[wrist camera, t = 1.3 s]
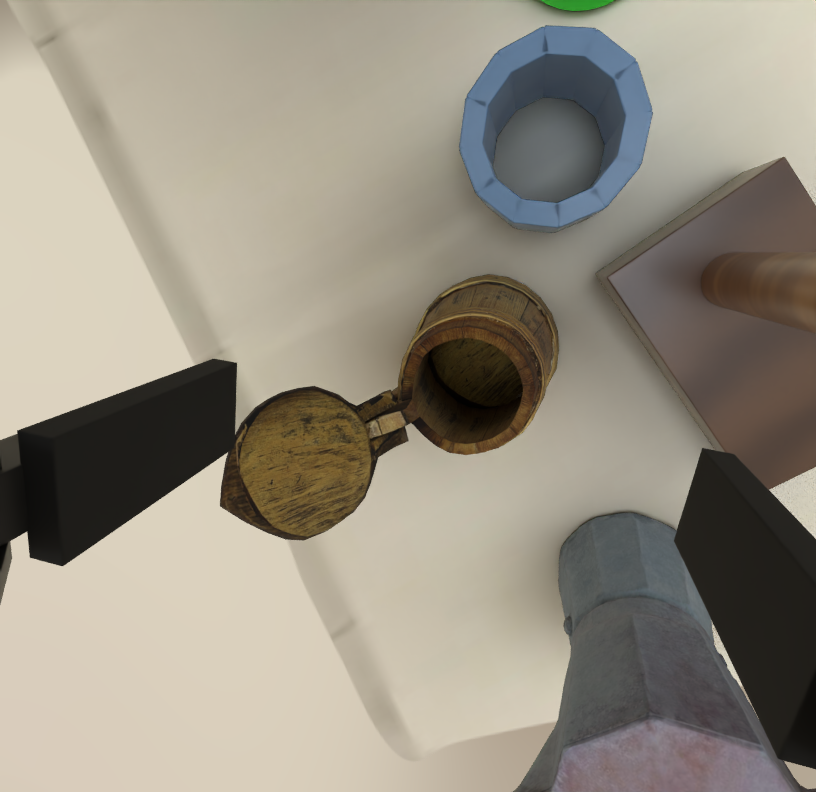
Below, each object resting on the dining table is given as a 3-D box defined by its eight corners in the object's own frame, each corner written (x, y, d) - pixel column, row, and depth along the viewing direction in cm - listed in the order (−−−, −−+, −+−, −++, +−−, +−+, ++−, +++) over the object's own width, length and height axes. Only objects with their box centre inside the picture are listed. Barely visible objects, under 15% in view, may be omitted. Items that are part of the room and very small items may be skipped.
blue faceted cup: (487, 71, 30) (475, 21, 24) (639, 81, 29) (671, 31, 22) (465, 223, 33) (449, 215, 26) (605, 239, 31) (625, 235, 25)
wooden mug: (335, 328, 36) (163, 395, 19) (533, 254, 32) (535, 256, 15) (382, 449, 38) (261, 610, 21) (577, 392, 34) (623, 532, 17)
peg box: (594, 273, 32) (671, 298, 15) (743, 171, 29) (1056, 51, 12) (723, 462, 33) (934, 691, 16) (878, 381, 30) (1346, 553, 13)
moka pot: (496, 527, 37) (462, 807, 18) (740, 475, 33) (1022, 772, 14) (536, 644, 39) (542, 1013, 20) (773, 610, 35) (1065, 1037, 16)
